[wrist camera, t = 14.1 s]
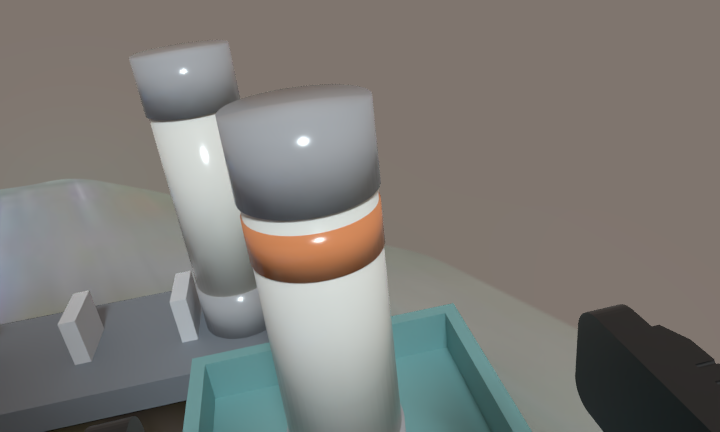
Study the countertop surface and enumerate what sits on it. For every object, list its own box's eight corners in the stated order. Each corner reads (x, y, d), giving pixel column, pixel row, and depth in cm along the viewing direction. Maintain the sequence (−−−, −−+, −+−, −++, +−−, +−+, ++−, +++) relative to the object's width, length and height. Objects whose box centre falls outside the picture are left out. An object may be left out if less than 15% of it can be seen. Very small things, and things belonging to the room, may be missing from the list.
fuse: (204, 346, 28) (119, 64, 22) (208, 300, 32) (138, 49, 25) (286, 328, 28) (227, 49, 22) (281, 285, 32) (229, 36, 26)
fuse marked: (303, 537, 19) (210, 135, 13) (293, 441, 22) (218, 98, 16) (423, 506, 19) (388, 108, 13) (394, 418, 23) (356, 77, 17)
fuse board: (-336, 515, 24) (-402, 450, 22) (-203, 388, 31) (-245, 331, 29) (322, 370, 27) (310, 303, 26) (306, 285, 35) (295, 229, 33)
